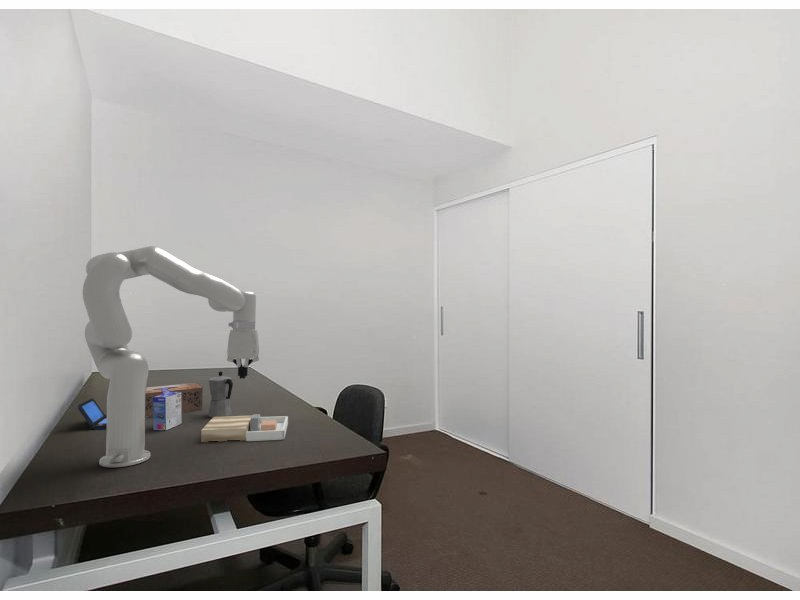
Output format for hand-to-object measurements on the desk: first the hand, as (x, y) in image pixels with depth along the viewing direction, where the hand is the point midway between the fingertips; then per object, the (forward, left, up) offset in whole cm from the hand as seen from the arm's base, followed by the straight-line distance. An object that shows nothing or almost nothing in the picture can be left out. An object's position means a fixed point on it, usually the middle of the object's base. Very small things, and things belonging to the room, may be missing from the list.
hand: (242, 378), depth 158 cm
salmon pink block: (+1, -9, -16) cm, 19 cm away
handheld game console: (+21, +53, -20) cm, 60 cm away
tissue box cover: (+41, +37, -20) cm, 59 cm away
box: (+1, -8, -20) cm, 21 cm away
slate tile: (+1, -3, -16) cm, 17 cm away
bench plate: (+1, +5, -20) cm, 20 cm away
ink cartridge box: (+14, +29, -20) cm, 37 cm away
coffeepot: (+29, +13, -20) cm, 37 cm away
